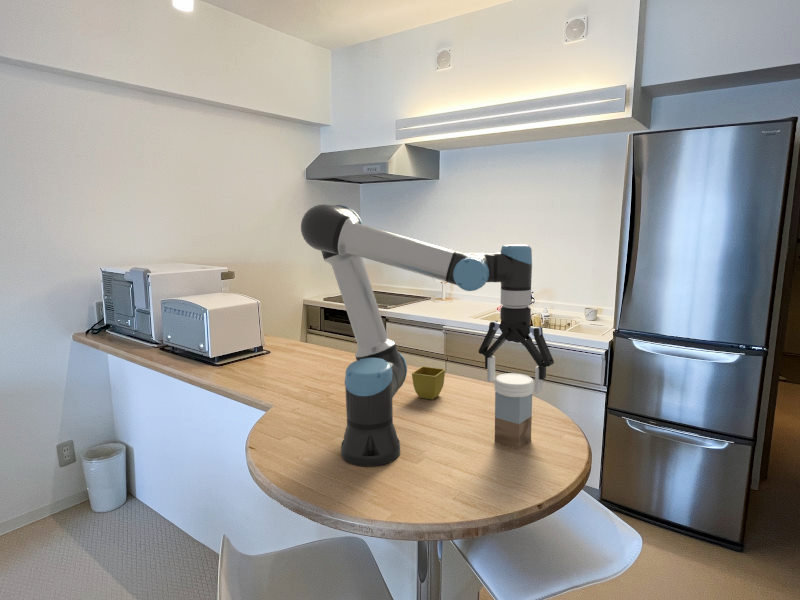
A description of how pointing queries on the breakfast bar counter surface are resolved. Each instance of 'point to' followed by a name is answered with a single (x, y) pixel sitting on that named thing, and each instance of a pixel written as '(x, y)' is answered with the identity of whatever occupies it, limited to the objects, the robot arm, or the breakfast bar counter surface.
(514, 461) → the breakfast bar counter surface
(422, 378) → the flower pot
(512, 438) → the block bottom
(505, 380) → the white round disc
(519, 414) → the block top
